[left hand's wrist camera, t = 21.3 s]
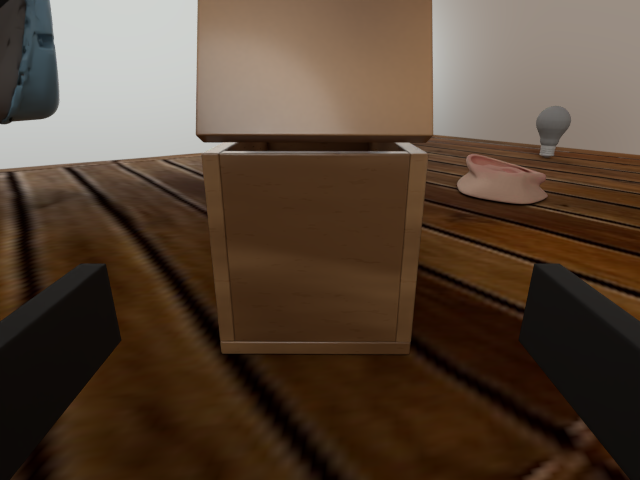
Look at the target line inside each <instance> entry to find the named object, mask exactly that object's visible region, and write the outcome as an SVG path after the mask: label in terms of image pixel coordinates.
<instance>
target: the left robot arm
mask: <svg viewBox="0 0 640 480" xmlns="http://www.w3.org/2000/svg"><path fill="white" fill-rule="evenodd" d="M53 40H54V36H53V27H52V16H51V8H50V0H0V124H8V123H10V122H12V121H24V120H36V119H44V118H47V117H49V116H51V115H53V114H54V113H55V112H56V110H57V108H58V105H59V82H58V71H57V61H56V52H55V45H54V41H53ZM120 341H121V336H120V331H119V326H118V322H117V317H116V312H115V307H114V302H113V297H112V292H111V287H110V282H109V278H108V273H107V268H106V264H80V265H78V266H77V267H75V268H74V269H73V270H71V271H70V272H68V273H67V274H66V275H64V276H63V277H62V278H60V279H59V280H57V281H56V282H55V283H53V284H52V285H50V286H49V287H48V288H46V289H45V290H43V291H42V292H41V293H39V294H38V295H36V296H35V297H34V298H32V299H31V300H29V301H28V302H27V303H25V304H24V305H23V306H21V307H20V308H18V309H17V310H16V311H14V312H13V313H11V314H10V315H9V316H7V317H6V318H4V319H3V320H2V321H0V480H10V479H11V478H12V476H13V475H14V474H15V473H16V471H17V470H18V469H19V468H20V466H21V465H22V464H23V463H24V461H25V460H26V459H27V458H28V456H29V455H30V454H31V453H32V451H33V450H34V449H35V448H36V446H37V445H38V444H39V443H40V441H41V440H42V439H43V438H44V436H45V435H46V434H47V433H48V431H49V430H50V429H51V428H52V426H53V425H54V424H55V423H56V421H57V420H58V419H59V418H60V416H61V415H62V414H63V413H64V411H65V410H66V409H67V408H68V406H69V405H70V404H71V403H72V401H73V400H74V399H75V398H76V396H77V395H78V394H79V393H80V391H81V390H82V389H83V388H84V386H85V385H86V384H87V383H88V381H89V380H90V379H91V378H92V376H93V375H94V374H95V373H96V371H97V370H98V369H99V368H100V366H101V365H102V364H103V363H104V361H105V360H106V359H107V358H108V356H109V355H110V354H111V353H112V351H113V350H114V349H115V348H116V346H117V345H118V344H119V343H120ZM519 341H520V343H521V344H522V345H523V346H524V348H525V349H526V350H527V351H528V353H529V354H530V355H531V356H532V358H533V359H534V360H535V361H536V363H537V364H538V365H539V366H540V368H541V369H542V370H543V371H544V373H545V374H546V375H547V376H548V378H549V379H550V380H551V381H552V383H553V384H554V385H555V386H556V388H557V389H558V390H559V391H560V393H561V394H562V395H563V396H564V398H565V399H566V400H567V401H568V403H569V404H570V405H571V406H572V408H573V409H574V410H575V411H576V413H577V414H578V415H579V416H580V418H581V419H582V420H583V421H584V423H585V424H586V425H587V426H588V428H589V429H590V430H591V431H592V433H593V434H594V435H595V436H596V438H597V439H598V440H599V441H600V443H601V444H602V445H603V446H604V448H605V449H606V450H607V451H608V453H609V454H610V455H611V456H612V458H613V459H614V460H615V461H616V463H617V464H618V465H619V466H620V468H621V469H622V470H623V471H624V473H625V474H626V475H627V476H628V478H629V479H630V480H640V321H638V320H637V319H636V318H634V317H633V316H631V315H630V314H629V313H627V312H626V311H624V310H623V309H622V308H620V307H619V306H617V305H616V304H615V303H613V302H612V301H611V300H609V299H608V298H606V297H605V296H604V295H602V294H601V293H599V292H598V291H597V290H595V289H594V288H592V287H591V286H590V285H588V284H587V283H585V282H584V281H583V280H581V279H580V278H578V277H577V276H576V275H574V274H573V273H572V272H570V271H569V270H567V269H566V268H565V267H563V266H562V265H560V264H534V268H533V273H532V278H531V282H530V287H529V292H528V297H527V302H526V307H525V312H524V317H523V321H522V326H521V331H520V336H519Z"/></svg>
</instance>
